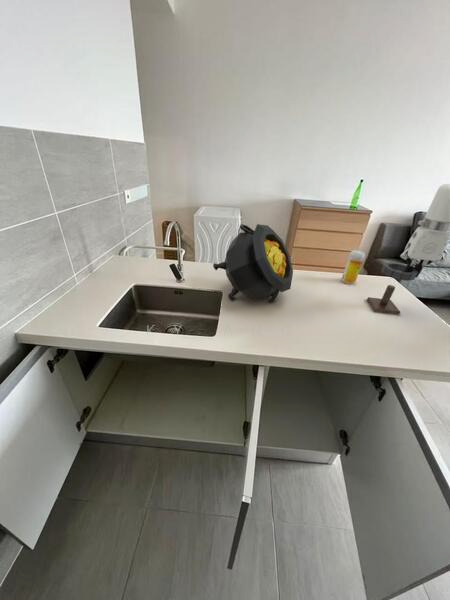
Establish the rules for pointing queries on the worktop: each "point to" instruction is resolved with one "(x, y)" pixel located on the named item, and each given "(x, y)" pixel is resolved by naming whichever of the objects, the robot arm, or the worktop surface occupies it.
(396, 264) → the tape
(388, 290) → the peg stand
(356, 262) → the beer can
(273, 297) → the cauldron
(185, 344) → the worktop surface
